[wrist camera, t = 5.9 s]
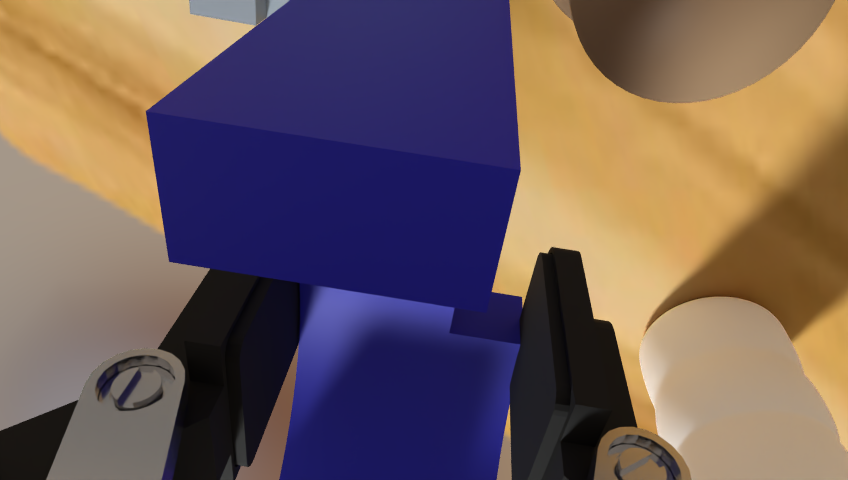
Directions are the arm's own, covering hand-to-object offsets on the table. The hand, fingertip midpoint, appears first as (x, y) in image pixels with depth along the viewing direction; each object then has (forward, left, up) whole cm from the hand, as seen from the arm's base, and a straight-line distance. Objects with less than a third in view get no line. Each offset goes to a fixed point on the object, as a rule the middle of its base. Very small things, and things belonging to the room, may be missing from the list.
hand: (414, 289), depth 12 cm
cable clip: (0, 0, -1) cm, 1 cm away
